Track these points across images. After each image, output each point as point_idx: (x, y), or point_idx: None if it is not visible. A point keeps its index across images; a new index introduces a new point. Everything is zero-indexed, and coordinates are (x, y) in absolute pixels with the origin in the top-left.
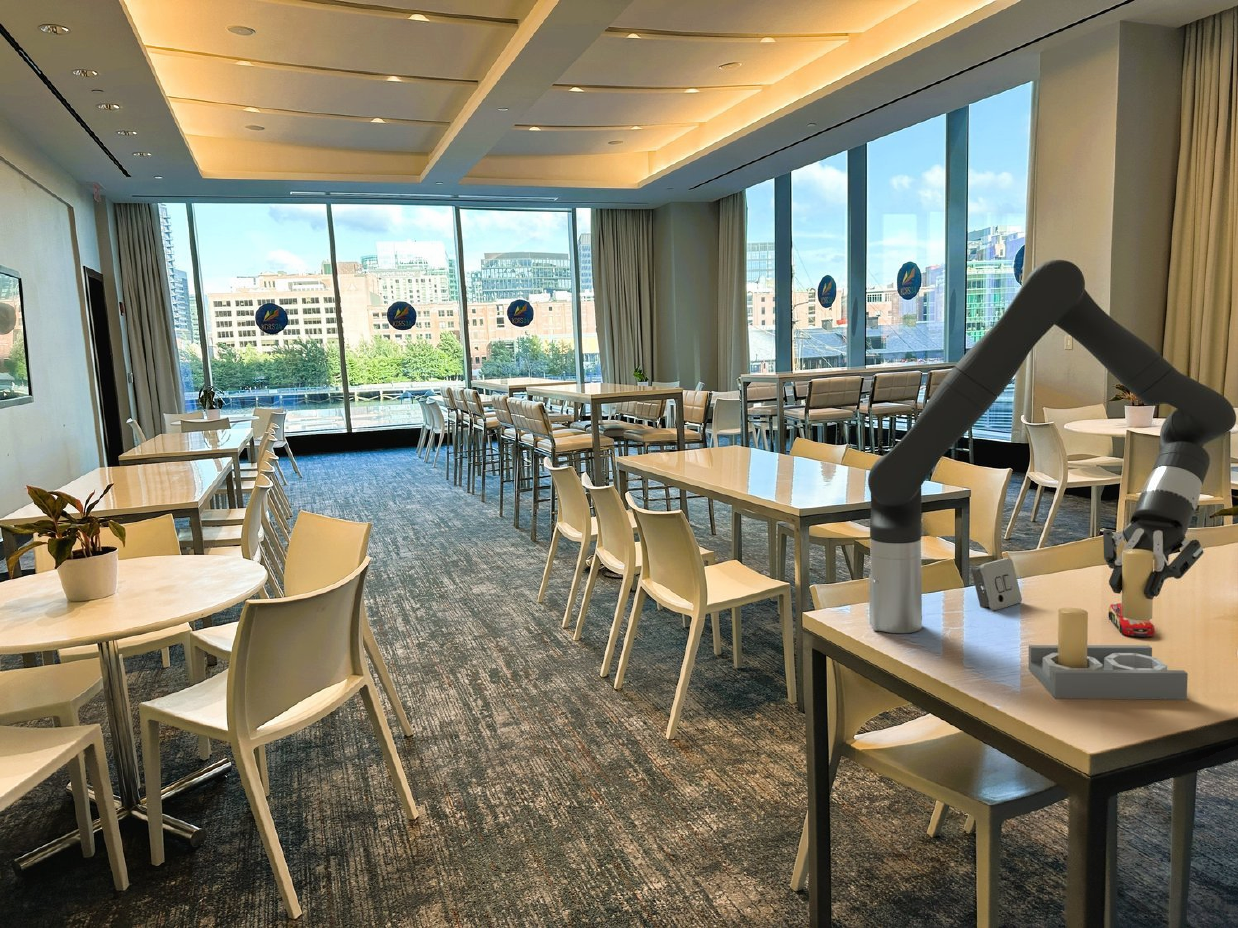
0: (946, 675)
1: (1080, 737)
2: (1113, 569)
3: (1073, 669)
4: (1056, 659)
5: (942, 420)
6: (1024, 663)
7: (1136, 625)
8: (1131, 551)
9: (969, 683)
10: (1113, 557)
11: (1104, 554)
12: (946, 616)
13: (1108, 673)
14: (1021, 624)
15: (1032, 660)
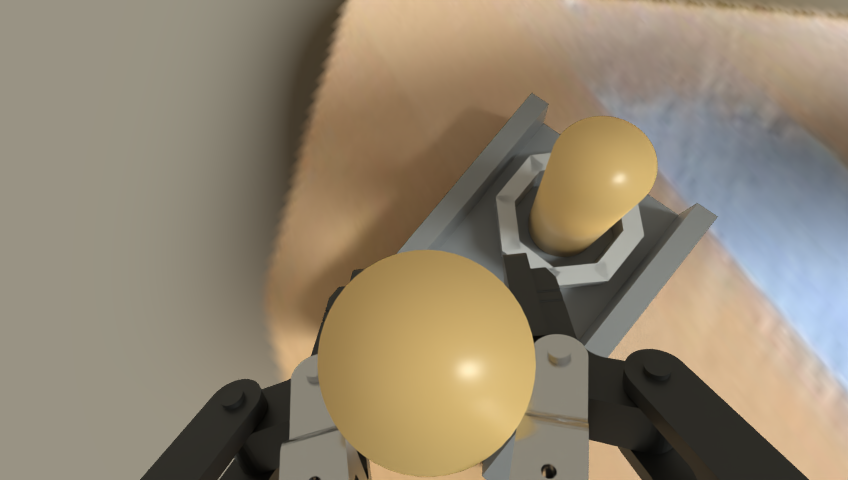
0: (768, 44)
1: (392, 12)
2: (573, 330)
3: (529, 165)
4: (619, 226)
5: None
6: (720, 260)
7: None
8: (467, 345)
9: (697, 48)
10: (634, 405)
11: (700, 385)
12: None
13: (452, 189)
14: None
15: (678, 216)
